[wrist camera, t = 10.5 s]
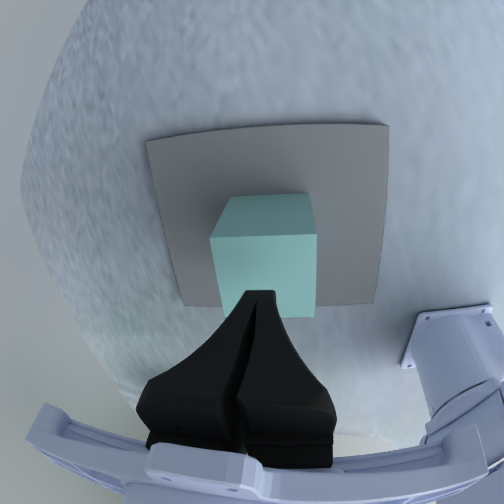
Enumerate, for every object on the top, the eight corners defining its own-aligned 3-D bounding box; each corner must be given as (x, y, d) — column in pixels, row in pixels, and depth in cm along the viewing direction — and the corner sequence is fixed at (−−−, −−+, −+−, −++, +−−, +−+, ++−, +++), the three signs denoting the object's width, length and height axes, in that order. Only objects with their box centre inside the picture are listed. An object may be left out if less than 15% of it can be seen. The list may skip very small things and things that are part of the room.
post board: (385, 124, 17) (422, 138, 12) (371, 297, 24) (386, 349, 18) (150, 140, 19) (104, 160, 14) (186, 300, 26) (165, 349, 21)
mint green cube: (309, 193, 19) (316, 234, 14) (309, 261, 22) (314, 316, 16) (230, 196, 20) (209, 237, 15) (239, 263, 22) (224, 317, 17)
